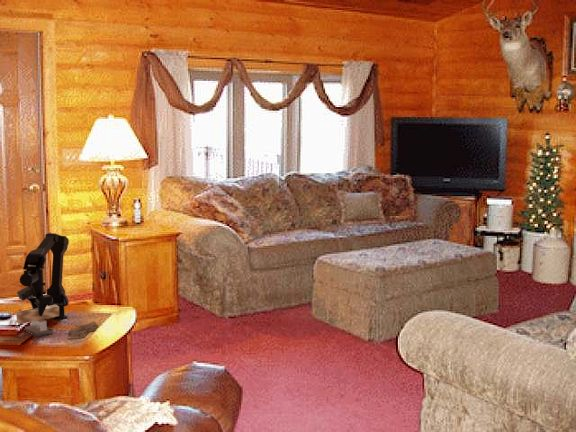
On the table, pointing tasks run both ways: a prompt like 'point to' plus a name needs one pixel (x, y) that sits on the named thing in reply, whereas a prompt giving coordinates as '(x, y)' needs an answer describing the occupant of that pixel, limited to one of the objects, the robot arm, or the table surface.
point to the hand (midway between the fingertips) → (38, 314)
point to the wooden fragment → (82, 331)
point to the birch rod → (37, 314)
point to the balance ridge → (39, 328)
